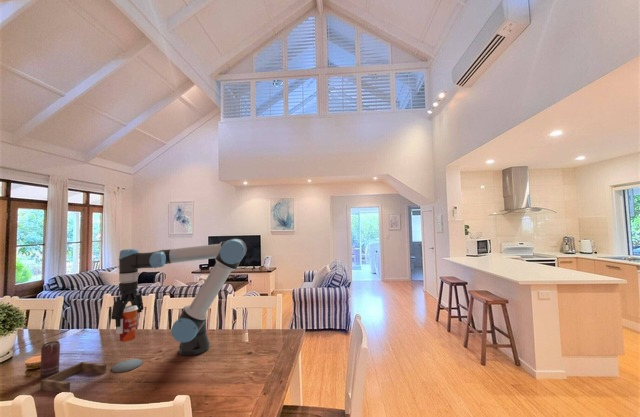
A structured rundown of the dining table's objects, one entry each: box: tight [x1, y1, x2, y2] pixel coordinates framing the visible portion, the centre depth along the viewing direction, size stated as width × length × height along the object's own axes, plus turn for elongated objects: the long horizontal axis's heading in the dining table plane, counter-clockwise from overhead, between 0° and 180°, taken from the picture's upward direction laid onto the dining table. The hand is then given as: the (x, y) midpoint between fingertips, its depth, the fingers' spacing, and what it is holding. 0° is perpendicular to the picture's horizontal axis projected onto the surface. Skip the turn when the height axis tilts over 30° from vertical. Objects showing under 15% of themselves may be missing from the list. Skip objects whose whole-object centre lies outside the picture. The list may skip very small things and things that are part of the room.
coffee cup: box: [118, 304, 138, 343], centre depth 135 cm, size 8×8×15 cm
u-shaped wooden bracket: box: [40, 361, 107, 393], centre depth 122 cm, size 14×16×4 cm
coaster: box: [111, 358, 143, 373], centre depth 134 cm, size 12×12×1 cm
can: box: [39, 340, 61, 380], centre depth 127 cm, size 6×6×14 cm
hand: (128, 329), depth 135 cm, fingers closed on coffee cup, 8 cm apart
